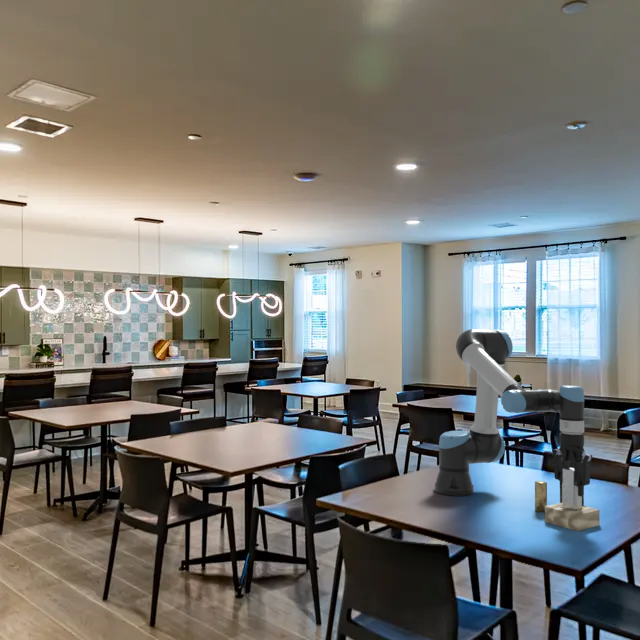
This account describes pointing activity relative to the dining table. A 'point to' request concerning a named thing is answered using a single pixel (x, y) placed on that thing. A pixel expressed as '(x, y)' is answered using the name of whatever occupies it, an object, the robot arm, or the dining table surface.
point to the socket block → (572, 517)
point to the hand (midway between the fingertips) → (571, 503)
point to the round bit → (540, 496)
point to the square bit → (569, 489)
